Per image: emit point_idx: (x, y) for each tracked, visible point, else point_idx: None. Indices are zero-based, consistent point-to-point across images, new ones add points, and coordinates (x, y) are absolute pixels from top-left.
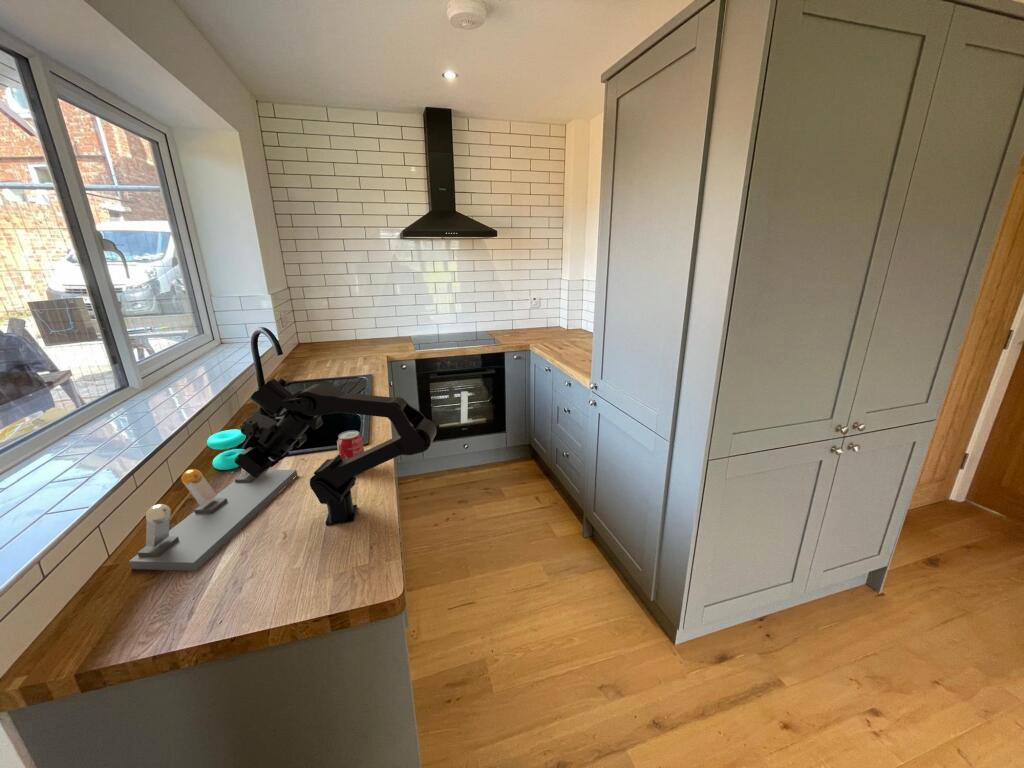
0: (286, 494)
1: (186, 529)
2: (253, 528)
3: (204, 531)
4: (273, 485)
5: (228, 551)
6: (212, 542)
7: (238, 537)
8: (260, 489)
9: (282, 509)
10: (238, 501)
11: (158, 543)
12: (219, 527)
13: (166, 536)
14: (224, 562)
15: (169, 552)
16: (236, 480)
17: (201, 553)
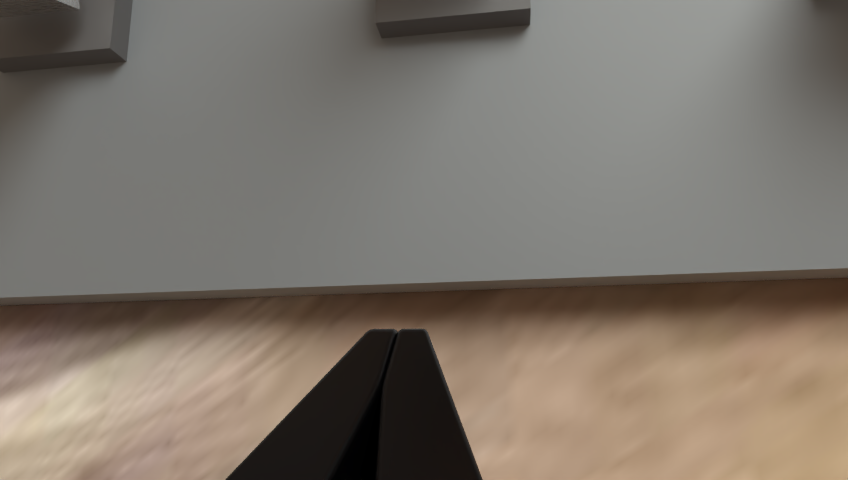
0: (756, 356)
1: (221, 18)
2: (319, 378)
3: (198, 139)
4: (804, 220)
5: (112, 372)
6: (91, 273)
7: (233, 341)
8: (723, 151)
9: (546, 453)
10: (536, 102)
11: (11, 14)
12: (234, 202)
13: (56, 7)
14: (26, 417)
15: (31, 98)
16: None
17: (2, 285)
